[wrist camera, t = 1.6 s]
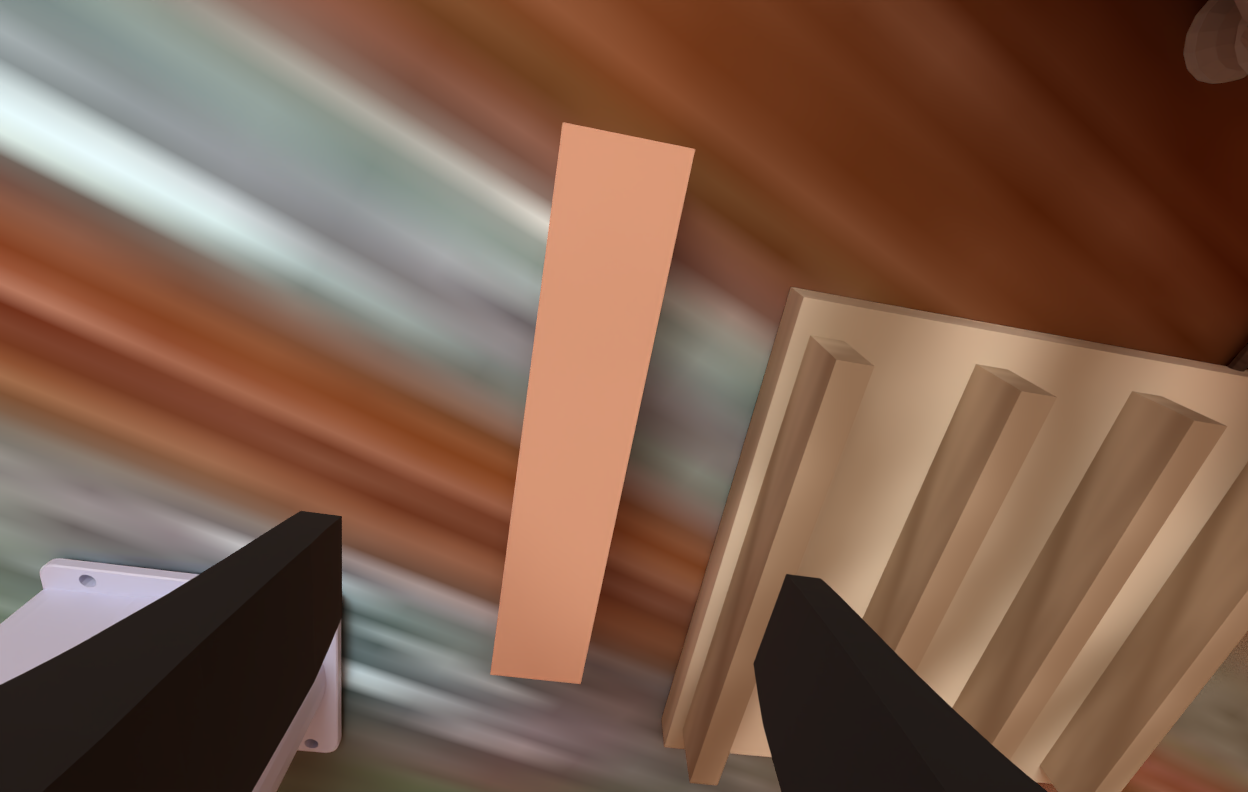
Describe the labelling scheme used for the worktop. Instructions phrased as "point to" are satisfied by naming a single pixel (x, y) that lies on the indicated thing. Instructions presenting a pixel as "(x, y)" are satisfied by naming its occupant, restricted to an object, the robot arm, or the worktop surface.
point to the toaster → (1218, 42)
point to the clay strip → (585, 389)
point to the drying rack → (983, 531)
